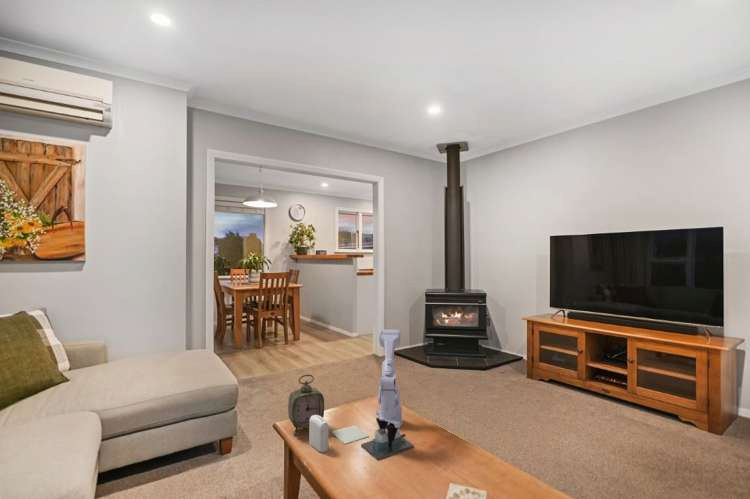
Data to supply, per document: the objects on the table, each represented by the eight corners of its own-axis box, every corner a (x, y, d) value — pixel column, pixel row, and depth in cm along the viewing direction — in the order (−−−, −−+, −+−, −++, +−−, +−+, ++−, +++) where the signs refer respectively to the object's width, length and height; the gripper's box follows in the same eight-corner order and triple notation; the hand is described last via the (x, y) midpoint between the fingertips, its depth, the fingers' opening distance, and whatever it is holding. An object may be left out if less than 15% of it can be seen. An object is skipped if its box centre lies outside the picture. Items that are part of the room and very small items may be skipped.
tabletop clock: (291, 438, 161) (292, 380, 161) (286, 429, 169) (287, 373, 169) (324, 431, 168) (324, 375, 168) (317, 422, 176) (318, 369, 176)
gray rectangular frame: (392, 432, 160) (392, 424, 160) (399, 437, 156) (400, 429, 156) (375, 437, 155) (375, 430, 155) (381, 442, 151) (382, 435, 151)
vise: (396, 435, 165) (396, 418, 165) (413, 447, 155) (413, 429, 155) (361, 446, 155) (361, 428, 155) (377, 460, 145) (377, 440, 145)
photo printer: (307, 443, 157) (308, 413, 157) (316, 440, 160) (317, 411, 160) (320, 454, 149) (320, 422, 149) (329, 450, 152) (330, 419, 152)
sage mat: (354, 425, 173) (354, 425, 173) (368, 436, 163) (368, 436, 163) (331, 432, 167) (331, 431, 167) (344, 444, 157) (344, 443, 157)
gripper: (370, 401, 159) (369, 433, 159) (390, 414, 147) (389, 448, 147) (384, 397, 163) (383, 429, 163) (404, 410, 151) (404, 443, 151)
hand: (387, 438), depth 155 cm, fingers closed on gray rectangular frame, 5 cm apart
